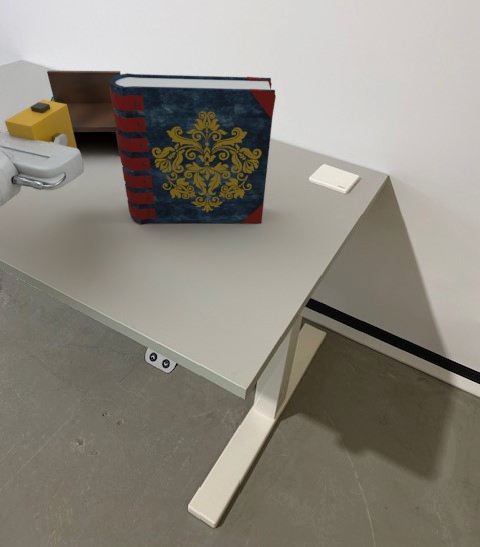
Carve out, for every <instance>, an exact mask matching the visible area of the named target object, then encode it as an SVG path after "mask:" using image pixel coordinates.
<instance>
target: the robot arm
mask: <svg viewBox="0 0 480 547" xmlns="http://www.w3.org/2000/svg"><path fill="white" fill-rule="evenodd" d="M51 137H52V141H53V142H45V141H41V140H30V139H26V138H21V137H17V136H12V135H9V132H8V130H7V131H0V208H2V207H3V206H5V205H6V204H7V203H8V202H10V201H11V200H13V199H14V198H15V197H16V196H18V195H19V193H20V192H21V189H22V187H28V188H32V189H35V190H39V191H54V190H55V191H56V190H58V189H60V188H63V187H64V186H66V185H67V184H69V183H71V182H73V181H74V180H76V179H77V178H79V177H80V176H81V175H82V174H83V173H84V172H85V165H84V159H83V156H82V152H81V150H80V149H79V148H78V147H77V148H73V147H68V146H66V145H67V144H68V141H67V137H66V135H65V134H61V133H56V134H54V135H53V136H51Z"/></svg>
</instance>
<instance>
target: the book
mask: <svg viewBox="0 0 480 547" xmlns="http://www.w3.org/2000/svg"><path fill="white" fill-rule="evenodd" d="M109 89H110V94H111V99H112V104H113V107H114V110H113V113H114V118H115V123H116V127H117V130H116V132H117V137H118V142H119V146H120V156H119V157H120V163H121V166H122V167H121V169H122V176H123V181H124V188H125V194H126V198H127V205H128V212H129V215H130V217H131V220H133V222H135V223H136V224H139V225H147V224H262V222H263V212H264V204H265V193H266V184H267V175H268V173H267V172H268V164H269V154H270V145H271V136H272V125H273V116H274V111H275V110H274V109H275V104H276V89H272V79H271V77H257V76H220V75H219V76H215V75H183V74H182V75H181V74H180V75H179V74H177V75H176V74H146V73H145V74H143V73H142V74H141V73H128V72H127V73H121V75H117V76H114V77H112V78H111V79H110V88H109ZM116 132H115V133H116Z"/></svg>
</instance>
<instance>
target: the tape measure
mask: <svg viewBox="0 0 480 547" xmlns="http://www.w3.org/2000/svg"><path fill="white" fill-rule="evenodd" d="M4 123H5V126H6V129H7V131H8V132H9V135H12V136H17V137H21V138H26V139H30V140H41V141H45V142H53V141H52V137H51V136H53V135H54V134H56V133H61V134H65V135H66V137H67V141H68V144H67V145H66V146H68V147H73V148H77V149H78V147H77V142H76V138H75V134H74V133H75V132H73V129H72V124H71V120H70V116H69V111H68V107H67V104H63V103H58V102H53V101H51V100H46V99H41V100H40V101H38V102H35V103H34V104H32V105H31V106H29V107H27V108H26V109H24V110H23V109H22V111H20V112H17V113H16V114H15V115H13V116H11V117H9V118H7V119H6V120H4Z"/></svg>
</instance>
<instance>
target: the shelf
mask: <svg viewBox="0 0 480 547" xmlns="http://www.w3.org/2000/svg"><path fill="white" fill-rule="evenodd" d="M46 73H47V78H48V81H49V85H50V89H51V94H52V97H53V98H54V102H58V103H63V104H67V107H68V111H69V116H70V120H71V124H72V129H73V133H113V132H114V133H115V138H116V143H117V144H116V145H117V149H118V156H119V157H120V146H119V142H118V137H117V132H116V130H117V127H116V123H115V118H114V113H113V110H114V107H113V104H112V99H111V94H110V89H109V88H110V79H111V78H112V77H114V76H117V75H121V74H122V73H121V70H47V71H46Z"/></svg>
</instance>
